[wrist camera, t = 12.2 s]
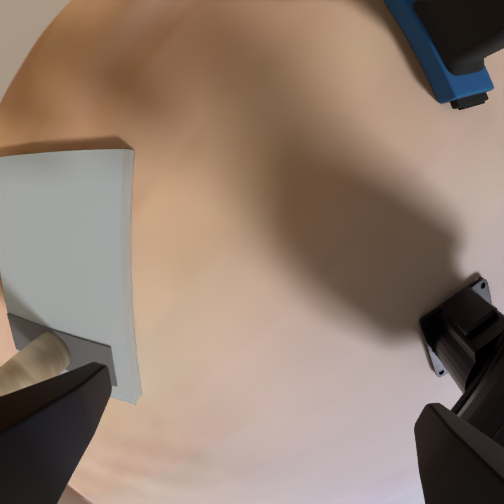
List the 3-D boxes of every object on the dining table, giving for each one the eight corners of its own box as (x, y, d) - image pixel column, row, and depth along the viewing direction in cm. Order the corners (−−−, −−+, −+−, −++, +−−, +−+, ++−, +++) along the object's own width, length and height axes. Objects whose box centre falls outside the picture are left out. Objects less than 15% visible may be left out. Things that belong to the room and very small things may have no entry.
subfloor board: (6, 157, 20) (-6, 157, 18) (134, 150, 19) (124, 148, 17) (28, 354, 25) (20, 361, 23) (141, 394, 24) (135, 404, 22)
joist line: (111, 346, 21) (109, 347, 21) (117, 385, 22) (116, 386, 22) (8, 312, 22) (7, 313, 22) (17, 348, 23) (16, 348, 23)
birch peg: (77, 360, 22) (1, 442, 11) (58, 370, 22) (-12, 444, 12) (52, 325, 21) (-35, 397, 10) (35, 338, 22) (-43, 404, 11)
